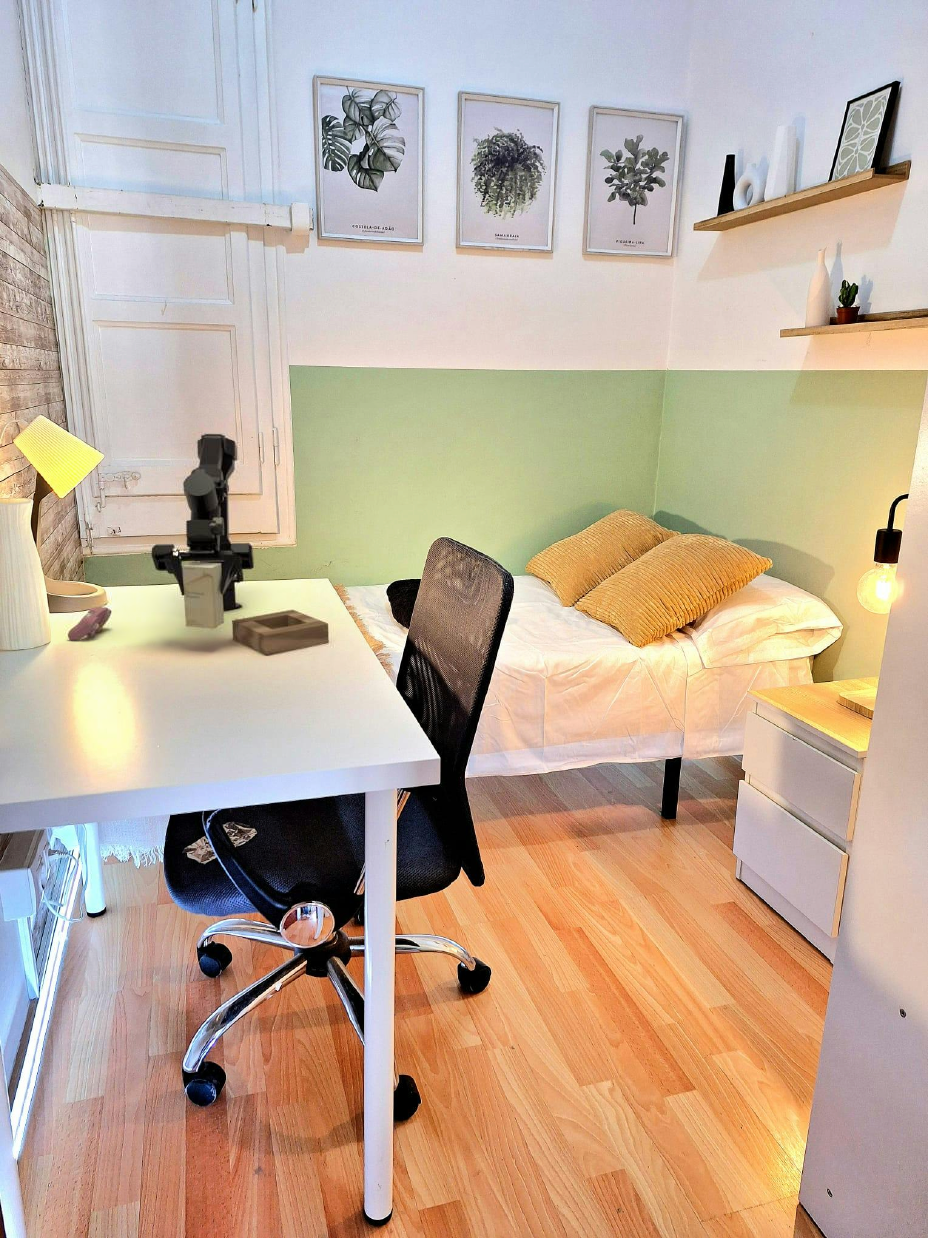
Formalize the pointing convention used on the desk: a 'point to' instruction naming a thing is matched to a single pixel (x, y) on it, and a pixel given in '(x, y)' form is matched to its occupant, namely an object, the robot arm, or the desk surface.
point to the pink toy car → (90, 623)
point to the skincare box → (203, 594)
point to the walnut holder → (280, 632)
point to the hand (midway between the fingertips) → (202, 593)
